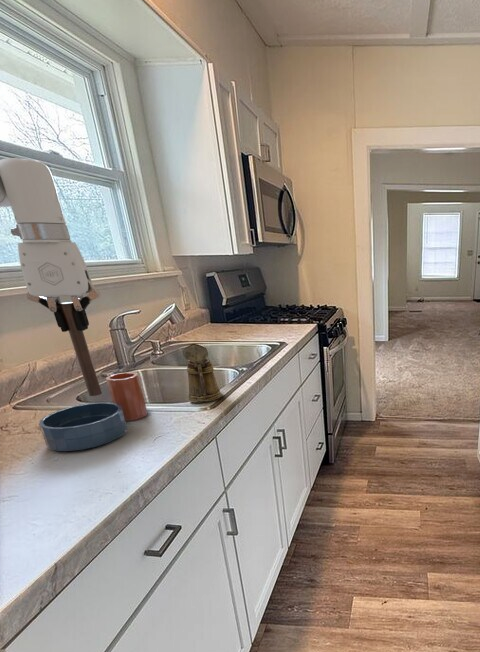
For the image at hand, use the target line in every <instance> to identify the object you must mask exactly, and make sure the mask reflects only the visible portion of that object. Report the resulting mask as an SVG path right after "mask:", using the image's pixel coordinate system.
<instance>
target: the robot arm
mask: <svg viewBox="0 0 480 652" xmlns="http://www.w3.org/2000/svg"><path fill="white" fill-rule="evenodd" d="M59 197H60V196H59V194H58V191H57V187H56V184H55V180H54V177H53V174H52V171H51V169H50V168H49V166H48V165H47V164H45V163H43V162H42V161H39V160H35V159H29V158H19V157H6V158H2V159H0V207H3V208H10V207H11V210H12V211H11V212H12V213H13V217H14V220H15V222H16V224H15V227H11V228H10V234H11V235H12V236H13V237H19V238H20V239H19V240H22V241H21V242H17V253H18V259H19V264H20V268H21V269H20V270H21V273H22V276H23V277H22V278H23V280H24V284H25V287H26V290H27V295H26V299H27V300H28V301H30V302H34V303H37V304H41V305H42V306H44V307H45V308H47V309H49V311H50V312H51V313H53V316H54V318H55V321H56V325H57V326H58V328H60V330H61V332H62V333H66V332H69V331H68V328H67V325H66V322H65V319H64V315H63V312H62V309H61V306H60V303H62V301H61V298H60V297H70V298H71V302H73V304H74V307H75V311H74V312H73V314H74V317H75V320H76V323H77V327H78V330H80V331H83V332H84V331H85V330H88V329H89V325H90V322H89V319H88V315H87V312H86V309H87V307H88V306H90V304H91V303H92V302H93V301H95V300H97V299H98V298H100V297H101V296H102V294H101V292H100V291H99V290H98V289H97V287H95V285H94V284H93V281H92V277H91V275H90V271H89V270H88V269H89V268H88V266H87V264H86V261H85V259H84V257H83V255H82V253H81V251H80V249H79V247H78V245H77V243H76V242H72V239H71V235H70V232H69V229H68V226H67V222H66V218H65V215H64V211H63V209H62V204H61V202H60V198H59ZM84 294H87V295H85V296H84Z"/></svg>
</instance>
